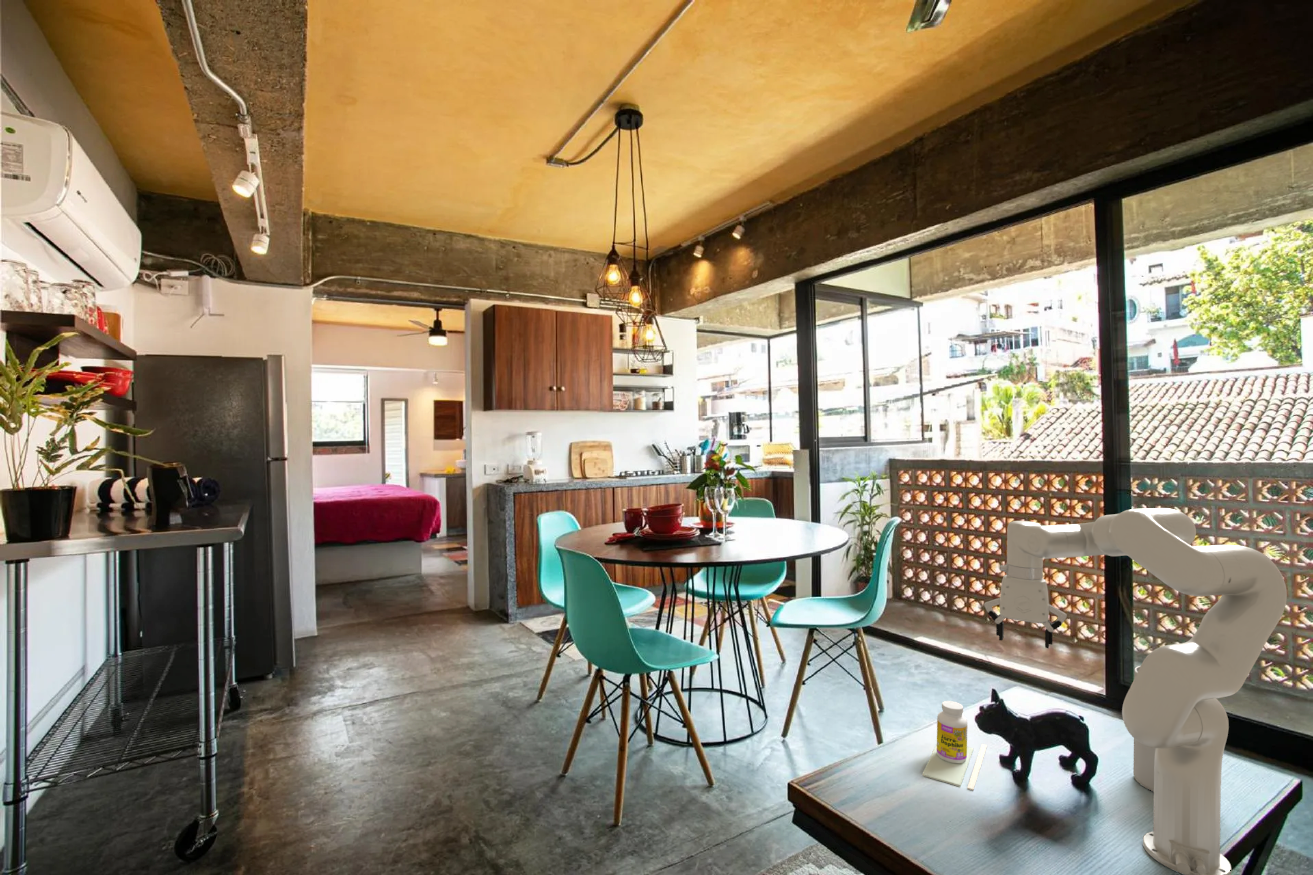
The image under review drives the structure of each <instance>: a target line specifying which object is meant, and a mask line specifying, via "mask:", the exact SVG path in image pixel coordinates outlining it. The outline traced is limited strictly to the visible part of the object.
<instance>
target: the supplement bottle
mask: <svg viewBox="0 0 1313 875" xmlns="http://www.w3.org/2000/svg"><path fill="white" fill-rule="evenodd" d="M941 709H942V711H940V712H938V714H937V716H936V717H937V718H936V721H937V722H936V728H937V729H936V744H937V754H938V756H939V757H940V758H941V759H943V760H945V761H947V762H951V763H963V762H965V761H966V759H967V747H968V719H967V718H966V717H965V715H964V714H963V713H964V706H963V704H961V703H959V702H957V701H953V700H945V701H942V702H941Z"/></svg>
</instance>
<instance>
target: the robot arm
mask: <svg viewBox="0 0 1313 875" xmlns="http://www.w3.org/2000/svg"><path fill="white" fill-rule="evenodd" d="M1006 528H1007V530H1006V533H1007V535H1006V536H1007V537H1006V538H1007V539H1006V545H1007V546H1006V563H1005V564H1001V565H1000V566H999V571H1000V572H1001V571H1002V572H1004V573H1005V575H1003V577H1002V581H1001V585H1000V593H999V594H1000V595H999V598H995V599H991V600H988V601H986V602H984V604H983V606H984V608H985V610H986V612H987V613H988V616H989V617H990V618H991V619H992V620H993V621H994V623H995V624H996V626H995V627H996V630H995V632H996V633H995V634H996V636H998V640H999V641H1003V640H1004V635H1005V634H1004V633H1005V630H1004V629H1005V622H1004V620H1005V619H1006V620H1007V619H1009V620H1013V621H1020V622H1027V623H1032V624H1033V623H1035V624H1042V625H1043V626H1044V628H1045V632H1044V647H1045V649H1048V650H1049V649H1050V648H1049V647H1050V645H1053V636H1054V634H1053V633H1054V631H1055V630H1057V629H1058V628H1059V627H1061V626H1062V625H1063V623H1064V622H1065V620H1066V619H1067V616H1068V614H1067V613H1065V612H1064V611H1062V610H1060V609H1059V608H1057V607H1055V606H1054V605H1052V604H1050V602H1049V601H1050V600H1049V590H1048V584H1047V580H1046V579H1044V578H1043V577H1044V576H1043V574H1044V573H1043V572H1044V566H1043V565H1044V560H1045V559H1060V558H1080V557H1090V556H1093V557H1094V556H1095V557H1096V556H1110V557H1121V556H1128V557H1129V558H1130V559H1131V560H1132V561H1134V562H1135V563H1136V564H1138V565H1139V566H1141V567H1142V568H1144V569H1145V570H1146V571H1148V572H1149V573H1150V574H1152V576H1154V577H1156V578H1157V579H1158V580H1160V582H1163V584H1165V585H1166V586H1168V587H1169V588H1171V589H1173V590H1175V591H1176V592H1179V593H1181V594H1184V595H1187V596H1192V597H1208V596H1209V597H1213V596H1220V597H1219V600H1218V601H1216V602H1215V604H1214V605H1213V606H1211V608H1210V609H1209V610H1208V611H1207V612H1206V613H1205V614H1204V616H1203V618H1202V619H1201V622H1200V624H1199V626H1198V627H1197V630H1196V631H1195V633H1194V634H1193V636H1192V637H1191V638H1190V639H1189V640H1187V641H1186V642H1185V641H1184V642H1182V643H1174V644H1167V645H1164V646H1163V645H1162V646H1159V647H1157V648H1155V649H1154V650H1152V651H1151V652H1150V653H1148V654H1147V655H1146V657H1145V658H1144V660H1143V661H1142V663H1141V665H1140V666H1141V667H1140V669H1139V671H1138V673H1137V675H1136V677H1135V676H1134V679H1133V682H1132V683H1131V685H1130V687H1129V689H1128V691H1127V693H1126V695H1125V697H1124V700H1123V704H1122V708H1121V709H1122V710H1121V716H1122V720H1123V724H1124V726H1125V728H1126V730H1127V731H1128V733H1129V734H1130V735H1131V737H1132V738H1133V739H1134V738H1135V739H1136V740H1137V741H1138V742H1140V743H1142V744H1144V745H1146V746H1149V747H1152V748H1156V750H1155V759H1154V792H1153V827H1152V828H1153V831H1149V832H1146V833H1145V834H1144V835H1143V837H1142V845H1143V848H1144V850H1145V851H1146V853H1147V854H1148V855H1150V856H1151V858H1153V859H1154V860H1155V861H1157V862H1158V863H1160V864H1161V865H1162V866H1165V867H1167V868H1169V869H1170V870H1173V871H1175V872H1177V873H1178V874H1182V875H1232V865H1231V863H1230V861H1229V860H1228V859H1227V858H1226V857H1225V856H1224V855H1223V854H1222V853H1221V811H1222V810H1221V809H1222V808H1221V805H1222V803H1221V801H1222V800H1221V798H1222V796H1221V795H1222V792H1221V791H1222V787H1221V786H1222V767H1223V757H1224V751H1225V747H1226V743H1227V739H1228V736H1229V735H1228V734H1229V728H1230V726H1229V718H1228V714H1227V712H1226V709H1225V707H1224V706H1223V705H1222V703H1221V702H1220V700H1218V699H1221V698H1225V697H1230V696H1233V695H1234V694H1236V693H1237V692H1239V691H1240V690H1241V688H1242V687H1243V685H1244V683H1245V681H1246V680H1247V677H1248V676H1249V674H1250V672H1251V671H1252V669H1253V667H1254V665H1255V664H1256V662H1257V660H1258V658H1259V657H1260V654H1261V653H1262V651H1263V650H1264V646H1265V644H1266V643H1267V641H1268V640H1269V638H1270V636H1271V634H1272V633H1273V632H1274V630H1275V628H1276V626H1277V625H1278V623H1279V621H1280V620H1281V619H1282V616H1283V613H1284V611H1285V609H1286V605H1287V601H1288V600H1287V599H1288V593H1287V592H1288V591H1287V590H1288V589H1287V584H1286V582H1285V579H1284V577H1283V575H1282V573H1281V571H1280V570H1279V568H1278V566H1277V565H1276V564H1275V562H1273V561H1272V559H1270V557H1268V556H1267V555H1265V554H1264V553H1263V552H1261V551H1259V550H1257V549H1254V548H1252V547H1248V546H1245V545H1244V546H1243V545H1238V544H1213V545H1199V546H1192V545H1191V544H1192V543H1193V542H1194V541H1195V539H1196V535H1197V529H1196V525H1195V523H1194V521H1193V520H1192V519H1191V518H1190V516H1188V514H1185V513H1184V512H1182V511H1180V510H1178V509H1173V508H1169V507H1155V508H1154V507H1153V508H1149V507H1148V508H1131V509H1126V510H1124V511H1122V512H1119V513H1115V514H1106V515H1101V516H1099V517H1098V518H1096V520H1095V521H1092V522H1086V523H1085V522H1084V523H1083V522H1082V523H1072V524H1049V525H1042V524H1040V523H1038V522H1036V521H1035V522H1034V521H1028V520H1014V521H1010V522H1009V523H1008V524H1007V527H1006ZM994 606H999V614H998V613H997V612H996V611H994V610H993V607H994ZM1050 613H1052V614H1054V615H1055V616H1057V619H1056V620H1054V621H1053V622H1051V621H1050V619H1049V618H1050V617H1049V616H1050V615H1049V614H1050ZM1230 870H1231V871H1230Z"/></svg>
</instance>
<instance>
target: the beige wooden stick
mask: <svg viewBox="0 0 1313 875" xmlns="http://www.w3.org/2000/svg"><path fill="white" fill-rule="evenodd" d="M987 748H988V744H984V743H981V746H980V748H979V751H978V755H977V758H976V760H975V764H974V767H973V769H972V773H971V775H970V779H969V781H968V784H967V790H969V791H974V790H975V787H976V784H977V782H978V781H977V780H978V777H979V774H980V770H981V767H982V763H983V762H984V759H985V758H984V757H985V755H986V751H987Z"/></svg>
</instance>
